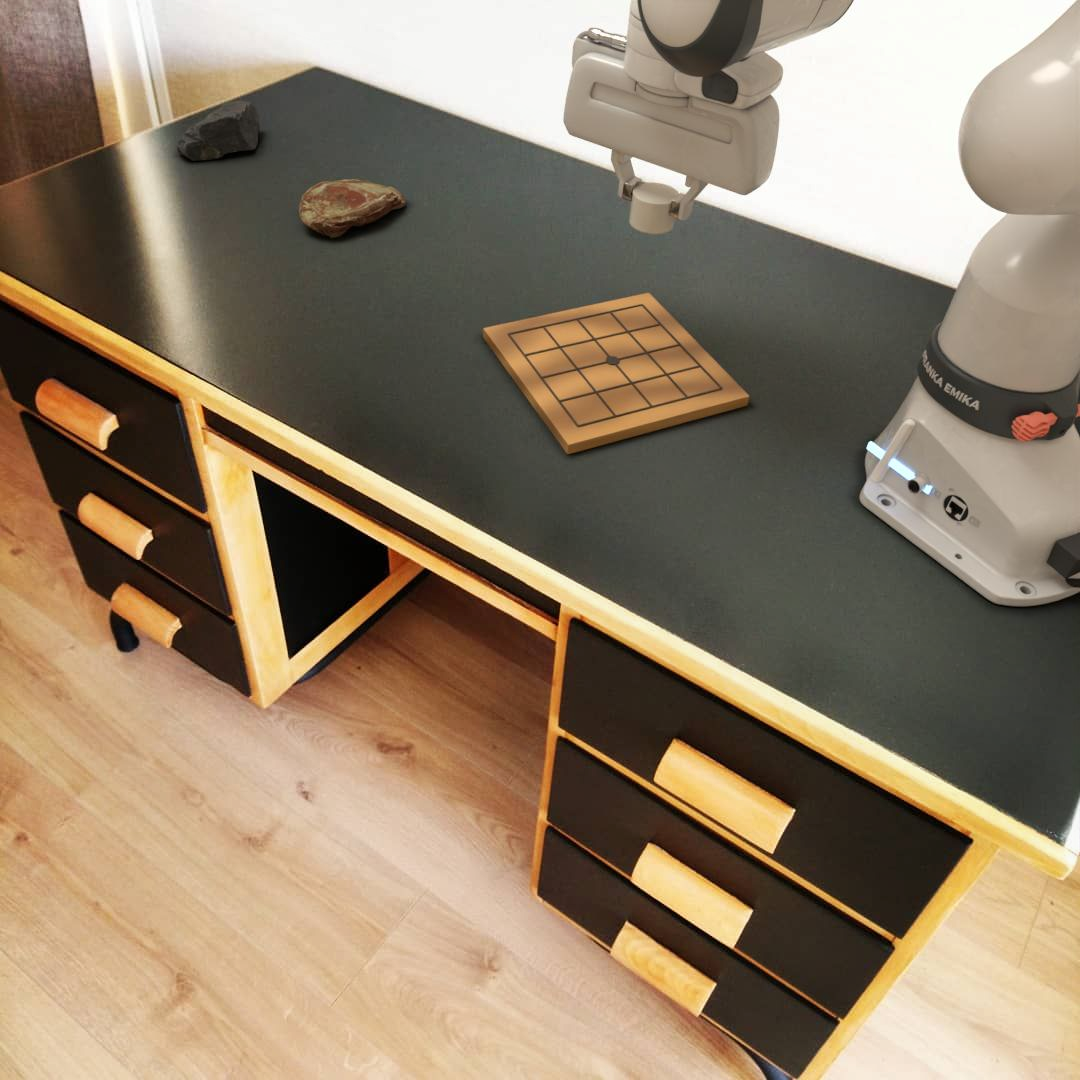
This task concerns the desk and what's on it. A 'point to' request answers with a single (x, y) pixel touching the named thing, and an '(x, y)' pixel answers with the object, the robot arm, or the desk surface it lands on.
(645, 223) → the game stone
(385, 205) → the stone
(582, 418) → the grid board
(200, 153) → the rock
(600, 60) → the robot arm
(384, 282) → the desk surface
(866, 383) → the desk surface
